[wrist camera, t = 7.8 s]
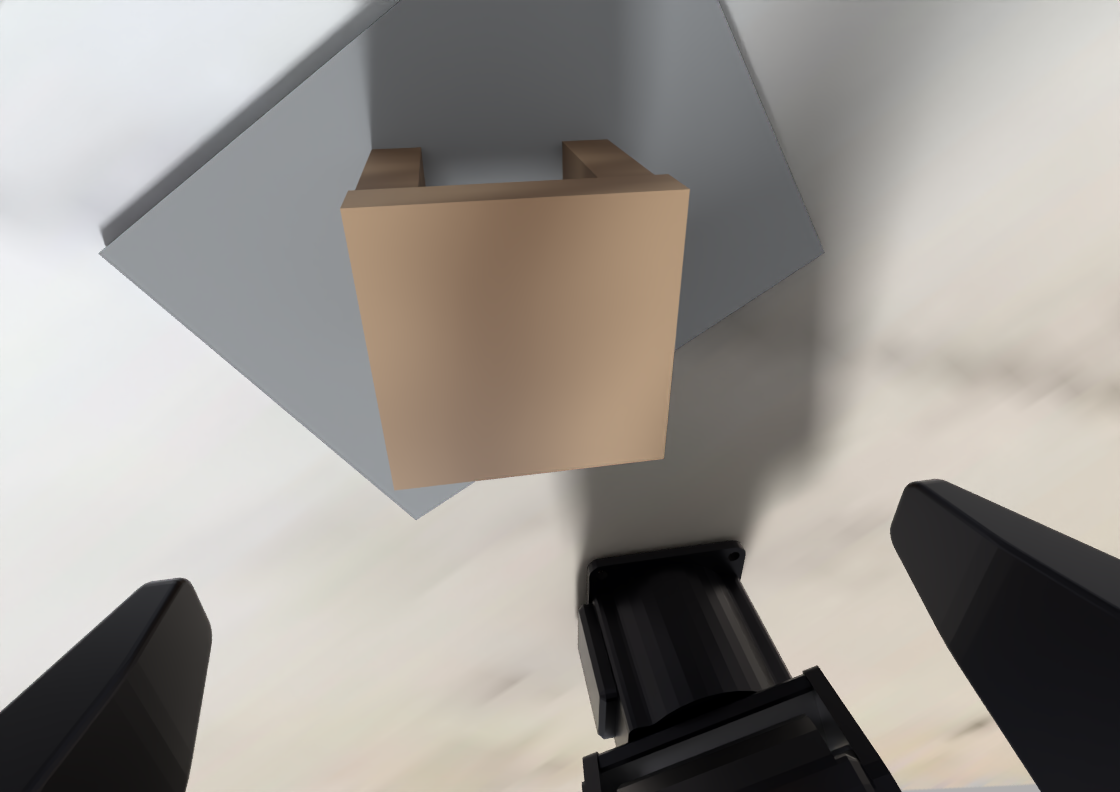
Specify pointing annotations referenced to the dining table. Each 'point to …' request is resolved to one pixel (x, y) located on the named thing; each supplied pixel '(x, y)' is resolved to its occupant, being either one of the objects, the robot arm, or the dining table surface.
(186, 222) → the mat
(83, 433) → the dining table surface
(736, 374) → the dining table surface
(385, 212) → the stool
